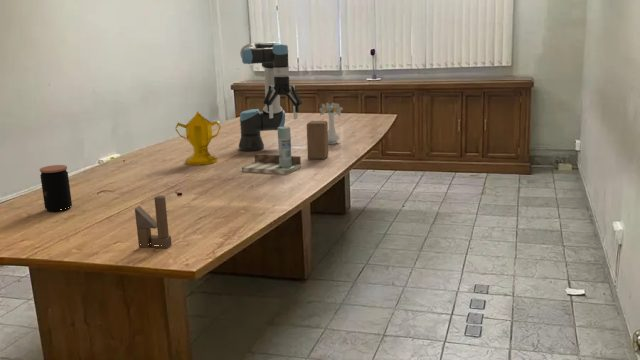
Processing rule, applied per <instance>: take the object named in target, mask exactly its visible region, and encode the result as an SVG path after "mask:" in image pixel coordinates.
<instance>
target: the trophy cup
mask: <svg viewBox="0 0 640 360" xmlns="http://www.w3.org/2000/svg"><path fill="white" fill-rule="evenodd" d="M215 125H216V126H218V130H217V132H216V134H213V133H214V131H213V126H215ZM178 127H181V128H184V129H185V133H186V134H185V135H186V137H185V136H184V135H182V134H180V131H179V130H178V129H177V128H178ZM221 127H222V126H221V124H220V123H218V121H217V120H215V121H213V122H211V121H210V120H209V119H207V118H206V117H204V116H203V115H202V114H201V113H200V112H199V111H196V113H195V115H194V116H193V117H192V118H191V119H190V120H189V121H188V122H187V123H186V124H183V123H181V122H177V124H176V126H175V131H176V132H177V134H178V135H179V136H180V137H181V138H183V139H184V140H187V141H188V143H189V144H190V145H191V146H192V147H193V153H192V155H190V156H189V157H187V158H186V159H185V160H184V163H185V165H187V166H206V165H211V164H214V163H218V161H219V160H218V159H219V158H218V156H216V155H213V154H211V153H210V152H209V145H210V143H211V141H212V139H214V138H217V137H218V134H219V132H220V130H221Z"/></svg>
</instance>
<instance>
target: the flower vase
mask: <svg viewBox="0 0 640 360" xmlns="http://www.w3.org/2000/svg"><path fill="white" fill-rule="evenodd" d="M318 110H319V112H320V113H319V117H320V116H323V115H325V114H326V113H327V116H328V123H329V124H328V145H334V144H337V143H338V142H339V140H340V135H339V133H338V132H337V131H336V128H335V115H336V114H337V115H338V117H339V116H341V114H342V111H343V110H344V108H343V107H341V106H340V103H335V102H331V103H329V102H326V103H325V104H324V103H322V104H321V107H320V108H319V109H318Z"/></svg>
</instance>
